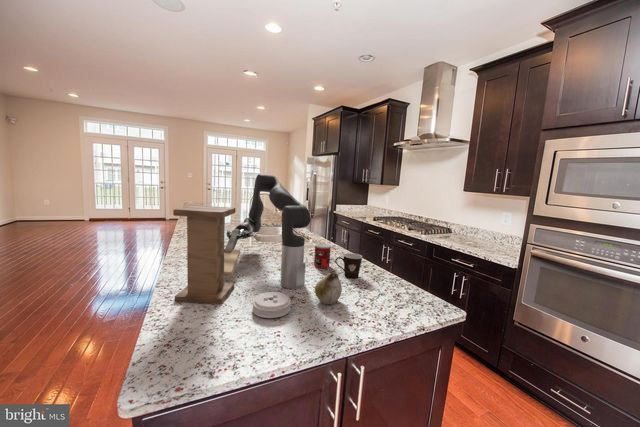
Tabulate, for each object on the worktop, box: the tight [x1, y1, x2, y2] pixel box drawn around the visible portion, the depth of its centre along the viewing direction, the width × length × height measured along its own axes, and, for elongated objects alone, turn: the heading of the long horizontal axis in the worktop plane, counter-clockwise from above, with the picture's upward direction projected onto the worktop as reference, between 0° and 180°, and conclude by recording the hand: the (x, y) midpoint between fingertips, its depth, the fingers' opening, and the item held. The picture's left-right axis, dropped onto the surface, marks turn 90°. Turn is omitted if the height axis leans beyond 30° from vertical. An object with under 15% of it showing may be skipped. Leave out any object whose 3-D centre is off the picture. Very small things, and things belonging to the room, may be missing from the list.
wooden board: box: [224, 228, 241, 276], centre depth 122 cm, size 26×10×2 cm
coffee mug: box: [334, 252, 363, 280], centre depth 127 cm, size 12×9×10 cm
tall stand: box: [172, 205, 236, 305], centre depth 98 cm, size 14×16×32 cm
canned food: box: [313, 243, 332, 269], centre depth 139 cm, size 8×8×11 cm
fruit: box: [314, 272, 343, 305], centre depth 99 cm, size 10×9×12 cm
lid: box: [251, 291, 292, 319], centre depth 90 cm, size 13×13×5 cm
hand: (233, 237), depth 128 cm, fingers closed on wooden board, 3 cm apart
